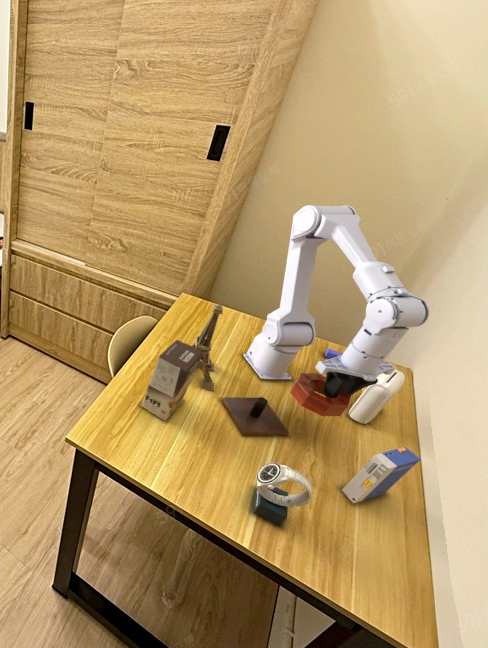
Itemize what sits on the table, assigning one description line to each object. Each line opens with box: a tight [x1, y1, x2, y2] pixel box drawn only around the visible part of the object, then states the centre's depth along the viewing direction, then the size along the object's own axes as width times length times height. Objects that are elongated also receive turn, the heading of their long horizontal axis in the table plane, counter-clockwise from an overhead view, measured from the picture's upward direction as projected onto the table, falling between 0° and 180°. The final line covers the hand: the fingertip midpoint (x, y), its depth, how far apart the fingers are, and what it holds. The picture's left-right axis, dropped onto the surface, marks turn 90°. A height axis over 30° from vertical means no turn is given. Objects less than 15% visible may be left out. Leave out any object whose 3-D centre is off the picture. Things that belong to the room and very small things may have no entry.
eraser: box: [324, 348, 344, 359], centre depth 110 cm, size 2×6×2 cm, turn 54°
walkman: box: [341, 446, 421, 504], centre depth 76 cm, size 8×3×12 cm, turn 105°
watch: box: [252, 461, 313, 527], centre depth 73 cm, size 6×8×11 cm
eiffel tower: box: [190, 293, 226, 392], centre depth 99 cm, size 11×11×25 cm
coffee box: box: [140, 339, 203, 421], centre depth 92 cm, size 9×6×16 cm
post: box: [221, 396, 290, 437], centre depth 92 cm, size 10×10×6 cm
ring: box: [290, 372, 352, 417], centre depth 87 cm, size 9×9×3 cm
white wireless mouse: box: [347, 368, 406, 425], centre depth 93 cm, size 10×4×12 cm, turn 123°
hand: (334, 395), depth 87 cm, fingers closed on ring, 2 cm apart
